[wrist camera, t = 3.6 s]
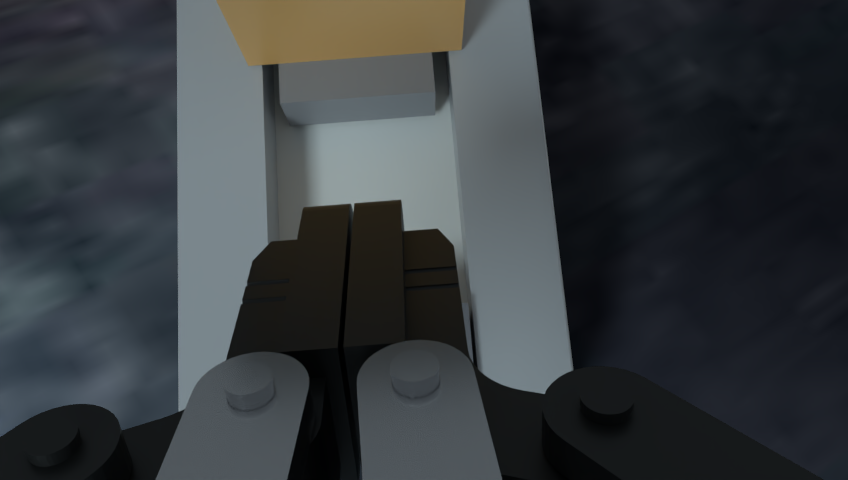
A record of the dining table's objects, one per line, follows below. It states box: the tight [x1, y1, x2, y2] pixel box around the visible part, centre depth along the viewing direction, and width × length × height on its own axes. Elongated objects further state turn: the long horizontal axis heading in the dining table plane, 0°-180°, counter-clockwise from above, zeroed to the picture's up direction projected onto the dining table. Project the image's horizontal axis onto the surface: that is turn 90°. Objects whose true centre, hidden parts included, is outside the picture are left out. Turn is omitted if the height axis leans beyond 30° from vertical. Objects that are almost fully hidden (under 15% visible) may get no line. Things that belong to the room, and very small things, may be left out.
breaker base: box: [177, 0, 573, 412], centre depth 21 cm, size 20×9×5 cm, turn 4°
